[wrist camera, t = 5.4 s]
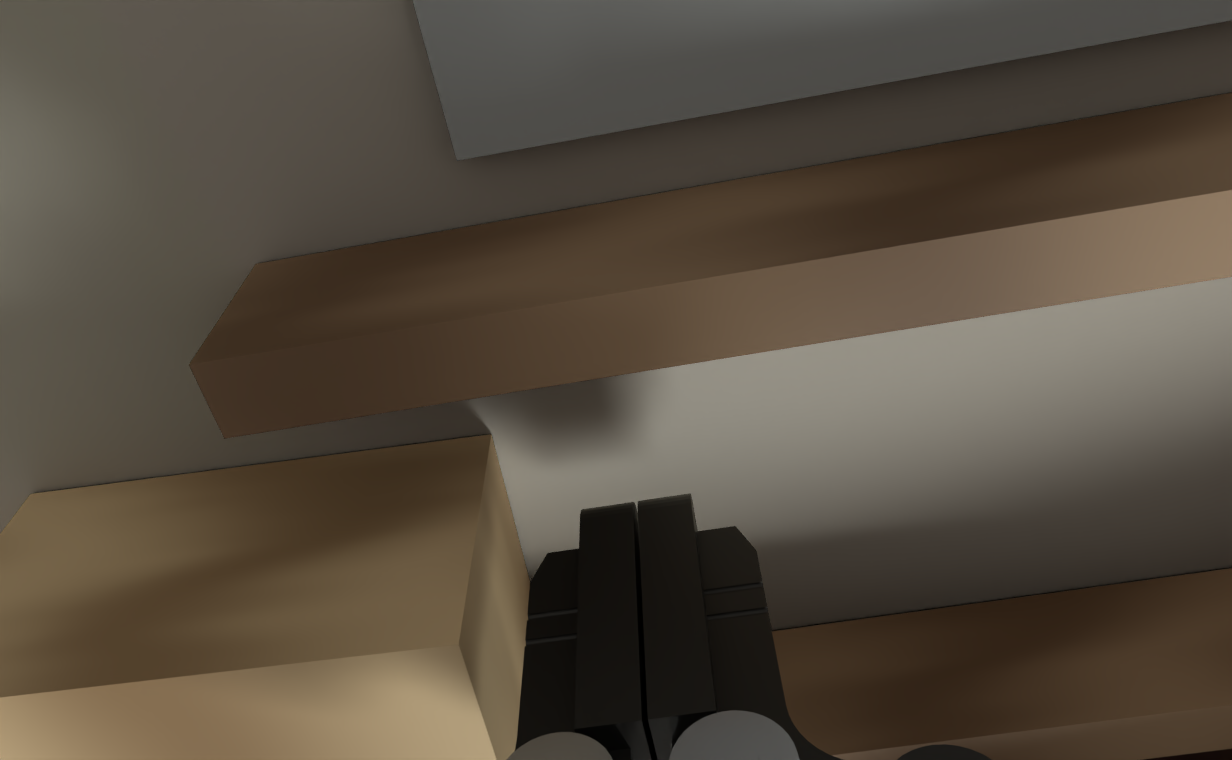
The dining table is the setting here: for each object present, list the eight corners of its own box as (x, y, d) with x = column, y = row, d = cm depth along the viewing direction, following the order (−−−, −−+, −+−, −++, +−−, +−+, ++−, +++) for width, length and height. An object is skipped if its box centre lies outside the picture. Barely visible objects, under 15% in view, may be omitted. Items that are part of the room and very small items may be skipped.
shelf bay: (1661, 17, 12) (1900, 77, 9) (1453, 581, 16) (1581, 705, 14) (255, 264, 13) (189, 365, 11) (443, 716, 18) (421, 847, 16)
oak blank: (491, 433, 14) (458, 644, 11) (542, 628, 17) (528, 854, 13) (30, 494, 15) (-137, 713, 11) (138, 675, 17) (23, 905, 14)
